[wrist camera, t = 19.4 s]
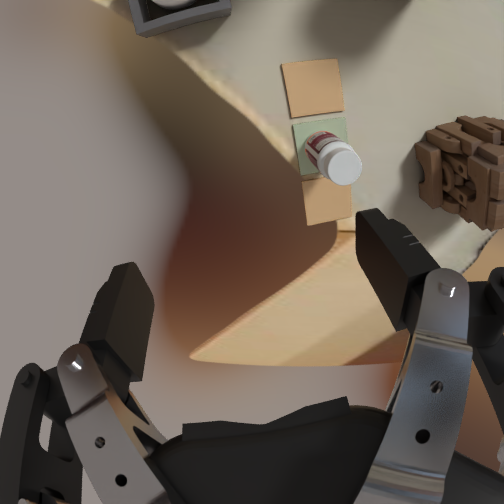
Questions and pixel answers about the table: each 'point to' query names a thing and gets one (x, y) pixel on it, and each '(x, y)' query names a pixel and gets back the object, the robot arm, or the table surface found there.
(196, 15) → the grey open box
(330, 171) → the pill bottle
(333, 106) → the track
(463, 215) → the wooden puzzle
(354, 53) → the table surface
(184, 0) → the dome plunger
